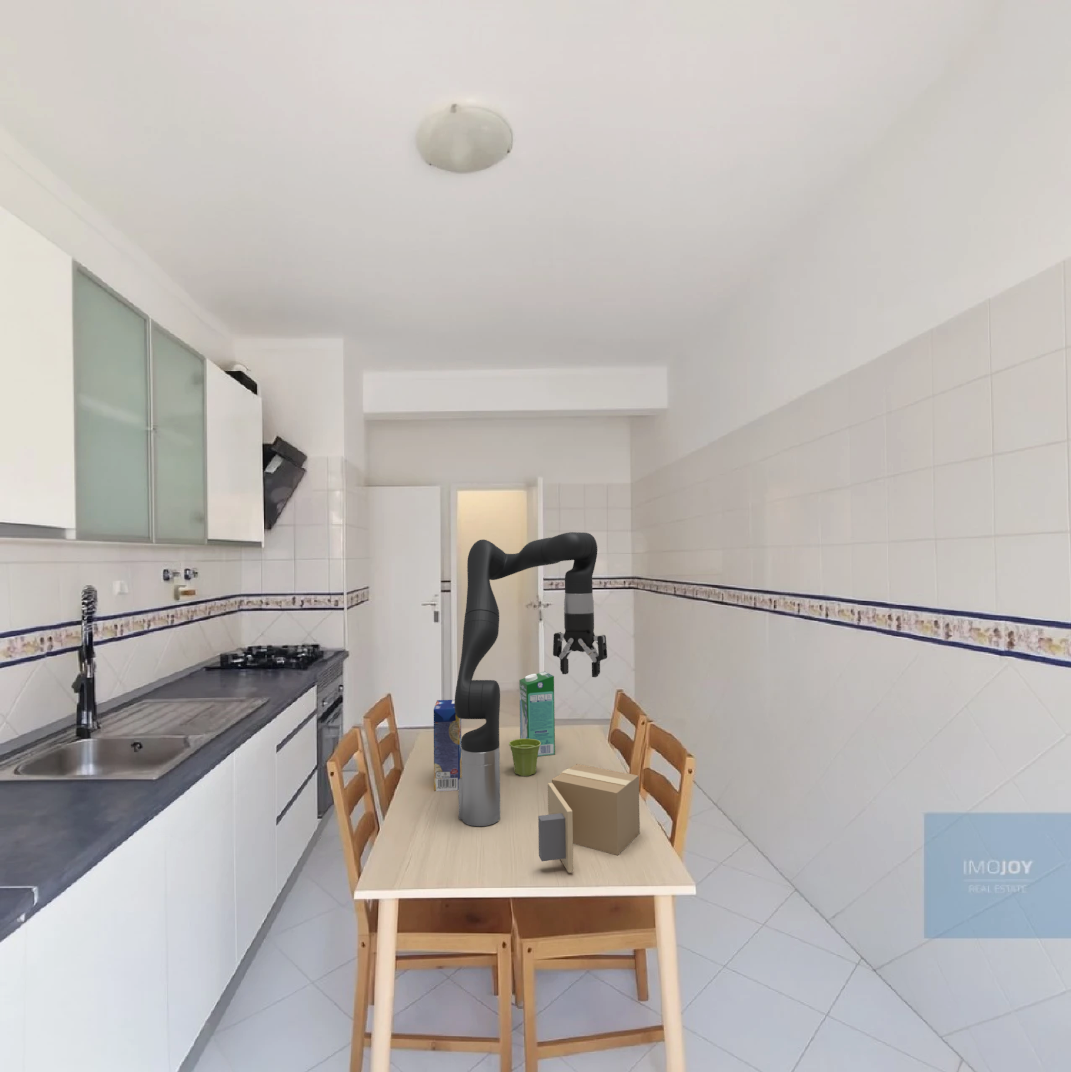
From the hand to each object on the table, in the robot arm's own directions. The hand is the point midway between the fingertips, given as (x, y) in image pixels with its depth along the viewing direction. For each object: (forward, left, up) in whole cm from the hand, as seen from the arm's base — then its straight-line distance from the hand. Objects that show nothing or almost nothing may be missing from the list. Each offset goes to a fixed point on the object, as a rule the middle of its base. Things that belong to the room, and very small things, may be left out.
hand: (579, 675), depth 157 cm
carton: (+10, -12, -33) cm, 37 cm away
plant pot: (-26, +14, -33) cm, 45 cm away
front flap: (+6, -26, -33) cm, 42 cm away
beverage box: (-40, -4, -33) cm, 52 cm away
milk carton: (-33, +32, -33) cm, 57 cm away
